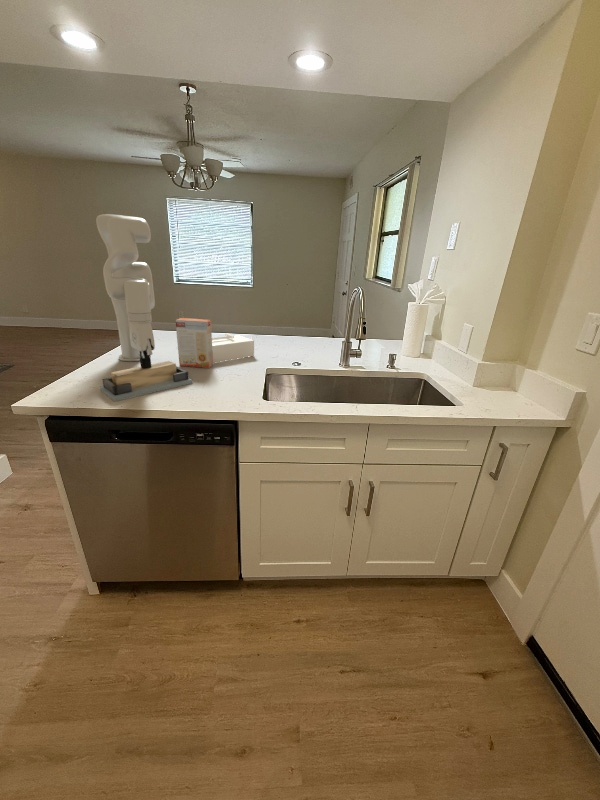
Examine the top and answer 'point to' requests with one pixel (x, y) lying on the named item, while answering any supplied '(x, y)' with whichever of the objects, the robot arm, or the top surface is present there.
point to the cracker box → (194, 342)
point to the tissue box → (231, 347)
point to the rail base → (126, 390)
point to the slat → (145, 375)
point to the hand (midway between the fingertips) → (146, 367)
